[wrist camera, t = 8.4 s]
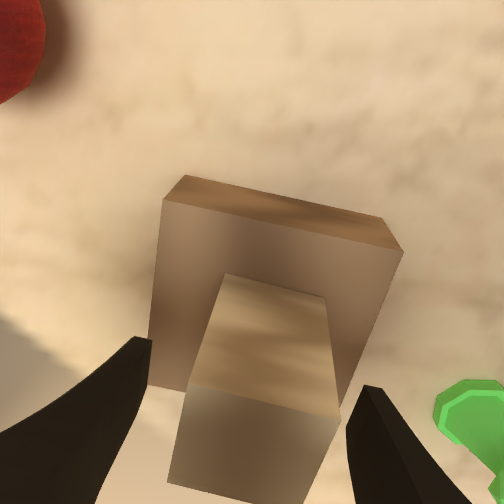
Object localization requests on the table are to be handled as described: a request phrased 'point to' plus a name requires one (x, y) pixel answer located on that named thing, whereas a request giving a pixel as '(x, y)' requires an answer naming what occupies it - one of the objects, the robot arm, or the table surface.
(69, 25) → the table surface
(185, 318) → the walnut block
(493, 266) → the table surface
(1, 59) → the onion
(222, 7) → the table surface
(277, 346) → the maple block
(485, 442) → the game piece
